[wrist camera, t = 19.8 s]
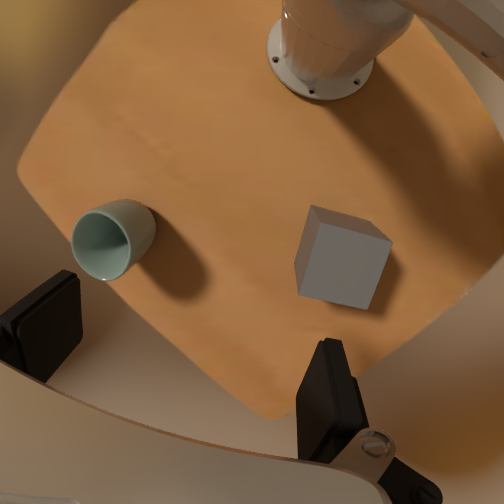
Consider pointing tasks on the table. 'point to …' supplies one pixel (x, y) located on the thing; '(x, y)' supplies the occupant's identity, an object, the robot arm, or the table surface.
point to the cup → (113, 238)
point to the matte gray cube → (340, 258)
